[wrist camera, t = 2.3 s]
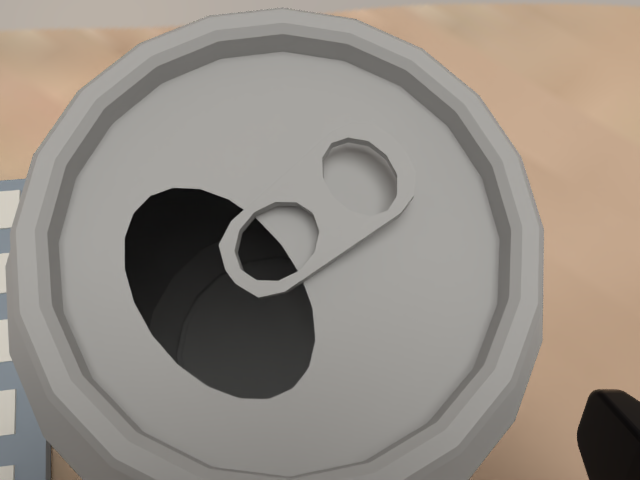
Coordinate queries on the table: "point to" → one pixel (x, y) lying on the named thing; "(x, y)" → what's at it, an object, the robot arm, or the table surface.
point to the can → (275, 261)
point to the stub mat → (16, 375)
